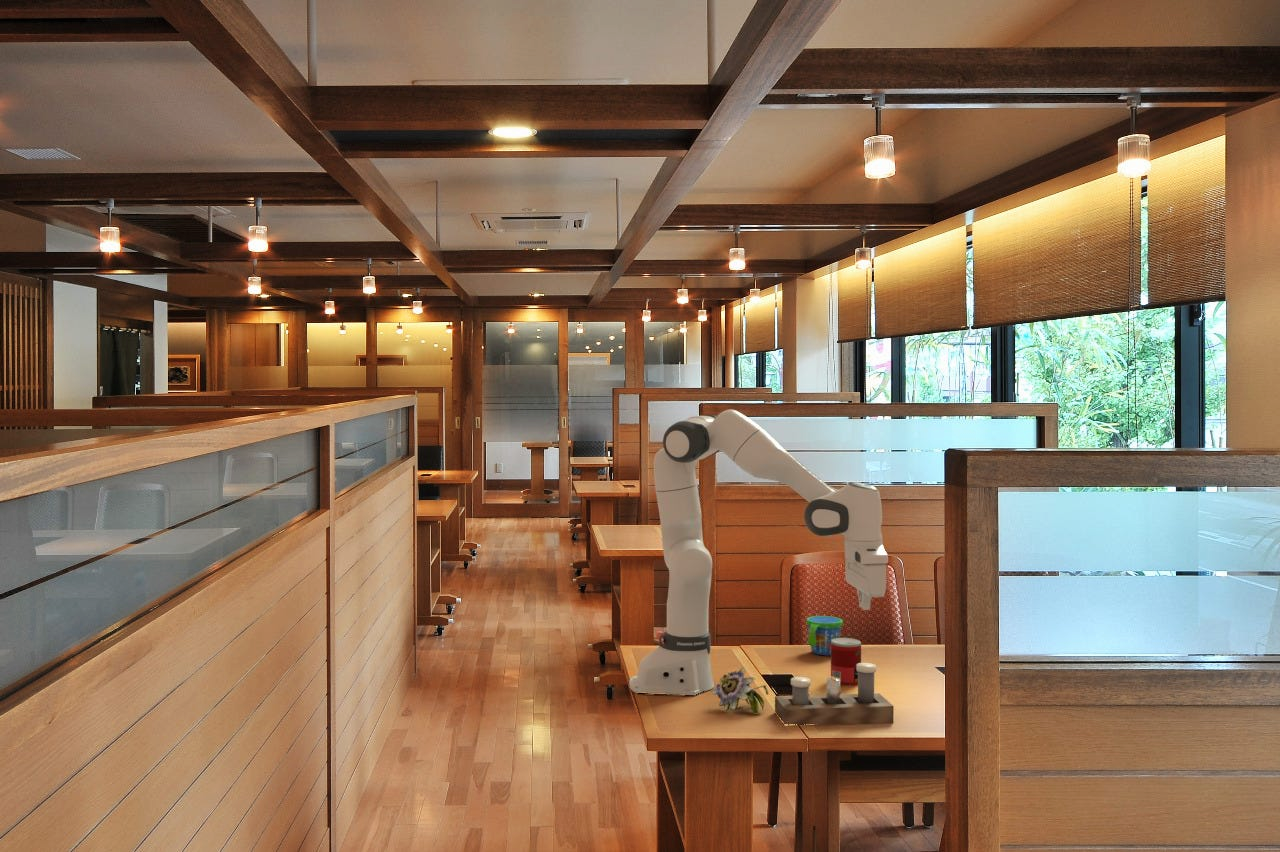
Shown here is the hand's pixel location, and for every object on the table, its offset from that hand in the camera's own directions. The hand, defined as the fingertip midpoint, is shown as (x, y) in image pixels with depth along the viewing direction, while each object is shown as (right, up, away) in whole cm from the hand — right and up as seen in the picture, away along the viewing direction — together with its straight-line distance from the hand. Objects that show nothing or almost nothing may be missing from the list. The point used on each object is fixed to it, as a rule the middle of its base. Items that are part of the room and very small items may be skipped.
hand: (864, 608), depth 236 cm
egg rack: (-7, -26, +1) cm, 27 cm away
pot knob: (-7, -23, 0) cm, 24 cm away
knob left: (-15, -26, 0) cm, 30 cm away
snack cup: (+2, -25, +60) cm, 65 cm away
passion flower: (-29, -26, +7) cm, 40 cm away
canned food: (+2, -26, +30) cm, 40 cm away
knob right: (+1, -23, +1) cm, 23 cm away
